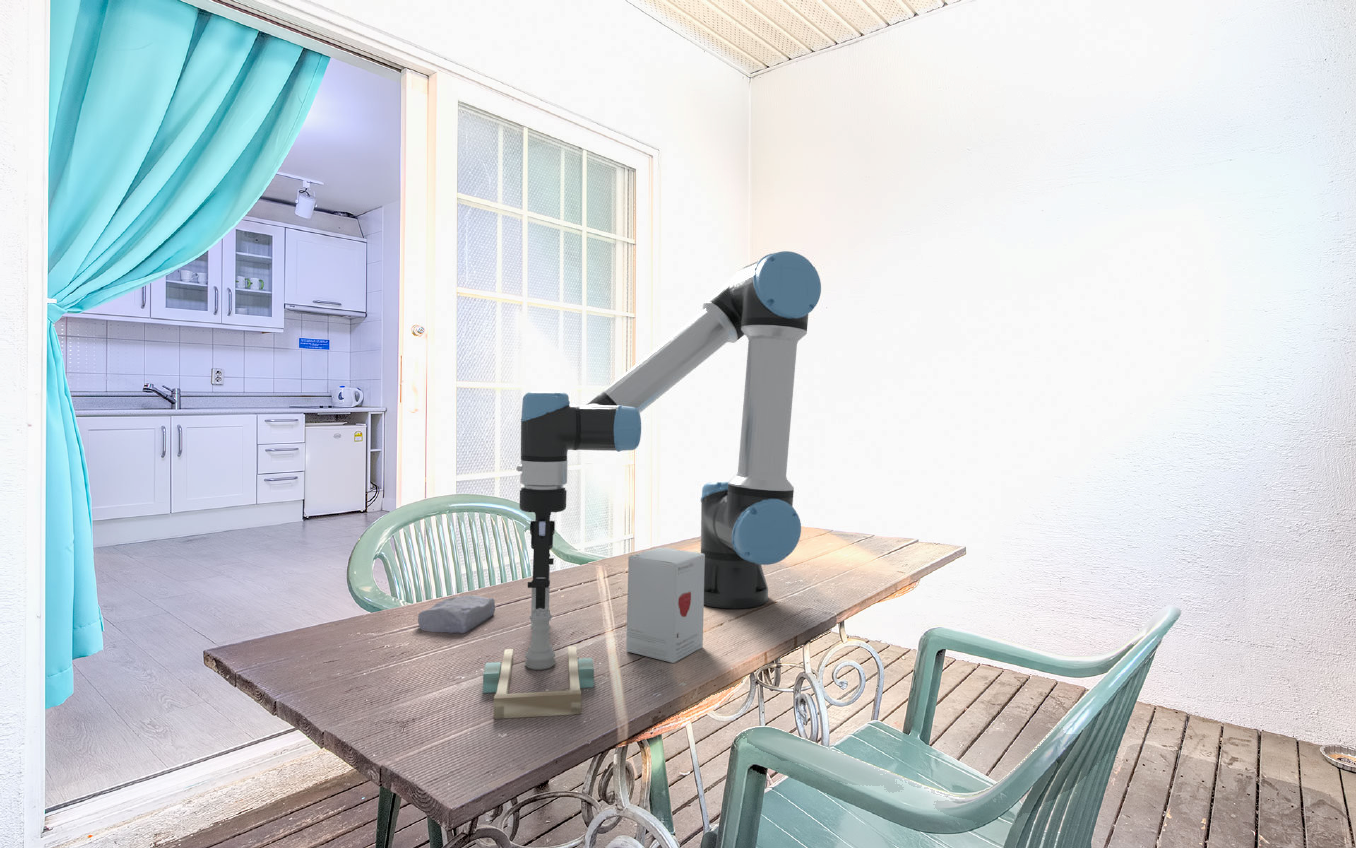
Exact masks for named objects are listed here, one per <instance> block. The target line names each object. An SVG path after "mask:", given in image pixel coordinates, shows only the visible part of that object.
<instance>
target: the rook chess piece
mask: <svg viewBox="0 0 1356 848" xmlns="http://www.w3.org/2000/svg"><path fill="white" fill-rule="evenodd" d="M551 619H553V615H552V614H551V613H550V609H549V610H548V609H547V608H545V609H544V611H542V608H538V611H537V609H533V611H532V614H530V616H529V620H530V622H531V621H532V623H533V624H532V627H531V626H530V630H532V631H531V634H532V635H531V640H530V645H529V647H528V651H527V652H526V653H525V659H526V660H525V661H524V666H526V667H527V668H528V670H529V669H530V670H533V671H543V670H544V671H545V670H549V669H551V668H552V667H554V665H555V664H556V662H557V661H556V659H555V657H556V653H555V650H554V648H553V646H552V644H551V638H550V629H551V628H552V627H551V625H550V621H551Z"/></svg>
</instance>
